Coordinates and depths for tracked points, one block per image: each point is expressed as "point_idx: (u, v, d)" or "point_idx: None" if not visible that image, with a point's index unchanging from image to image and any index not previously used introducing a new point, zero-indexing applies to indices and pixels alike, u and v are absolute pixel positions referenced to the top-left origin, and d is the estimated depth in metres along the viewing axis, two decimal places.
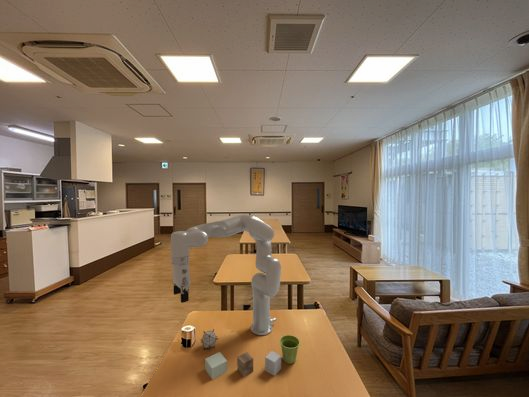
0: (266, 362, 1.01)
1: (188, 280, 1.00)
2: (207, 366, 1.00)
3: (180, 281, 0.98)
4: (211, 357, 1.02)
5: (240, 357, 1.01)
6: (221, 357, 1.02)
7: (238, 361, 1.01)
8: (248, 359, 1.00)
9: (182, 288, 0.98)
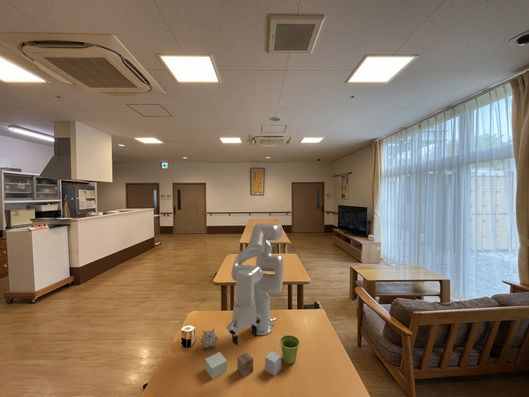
0: (266, 362, 1.01)
1: None
2: (207, 366, 1.00)
3: (256, 316, 1.02)
4: (211, 357, 1.02)
5: (240, 357, 1.01)
6: (221, 357, 1.02)
7: (238, 361, 1.01)
8: (248, 359, 1.00)
9: (255, 322, 1.02)
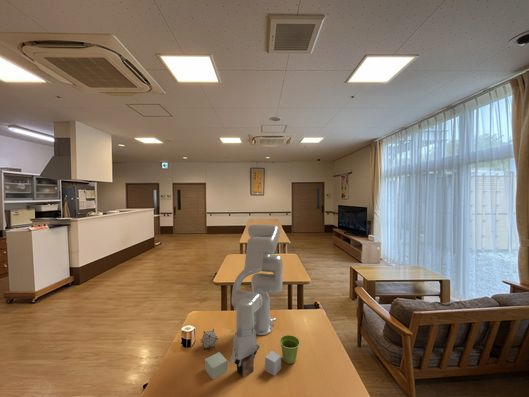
0: (266, 362, 1.01)
1: None
2: (207, 366, 0.99)
3: (256, 344, 1.02)
4: (211, 357, 1.02)
5: None
6: (221, 357, 1.03)
7: None
8: (248, 359, 1.00)
9: (253, 353, 1.02)
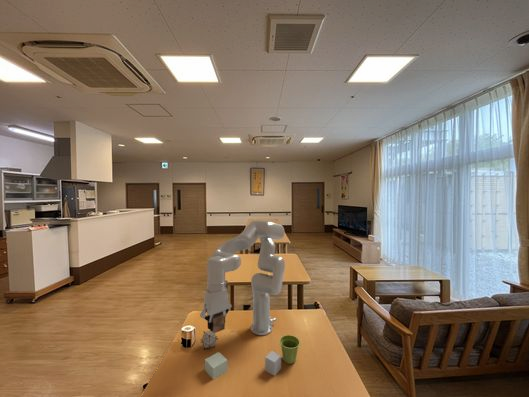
0: (266, 362, 1.01)
1: None
2: (208, 366, 0.99)
3: (228, 302, 1.02)
4: (211, 357, 1.02)
5: None
6: (221, 357, 1.03)
7: None
8: (219, 316, 0.99)
9: (225, 311, 1.02)
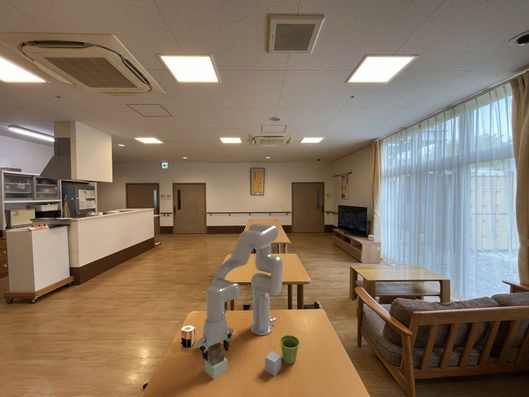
0: (266, 362, 1.01)
1: None
2: (208, 367, 0.99)
3: (227, 331, 1.02)
4: None
5: (211, 346, 1.01)
6: None
7: (208, 350, 1.01)
8: (218, 348, 1.00)
9: (227, 337, 1.03)
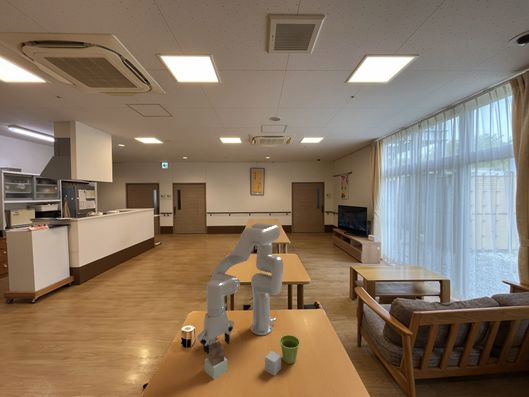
0: (266, 362, 1.01)
1: None
2: (208, 367, 0.99)
3: None
4: None
5: (211, 346, 1.01)
6: None
7: (209, 350, 1.01)
8: (218, 348, 1.00)
9: (227, 330, 1.04)
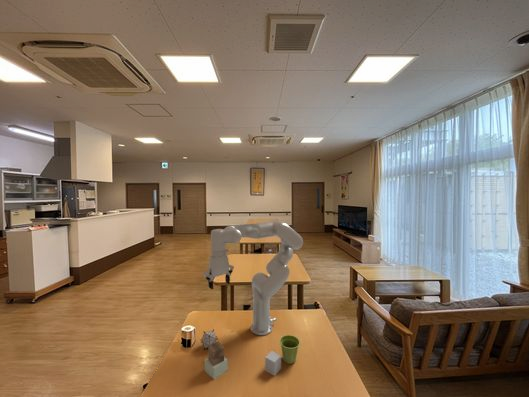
0: (266, 362, 1.01)
1: None
2: (208, 367, 0.99)
3: (228, 266, 1.22)
4: None
5: (211, 346, 1.01)
6: None
7: (209, 350, 1.01)
8: (218, 348, 1.00)
9: (228, 272, 1.23)
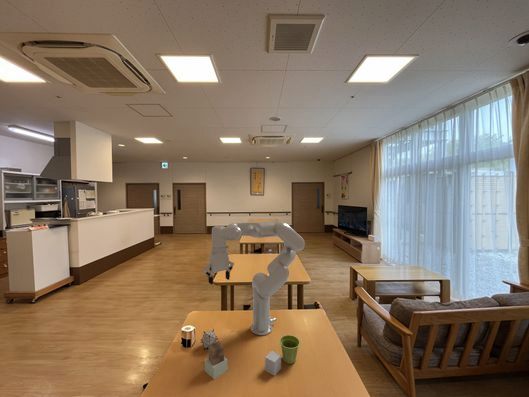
0: (266, 362, 1.01)
1: None
2: (208, 366, 0.99)
3: (228, 263, 1.25)
4: None
5: (211, 346, 1.01)
6: None
7: (209, 350, 1.01)
8: (218, 348, 1.00)
9: (228, 268, 1.25)
